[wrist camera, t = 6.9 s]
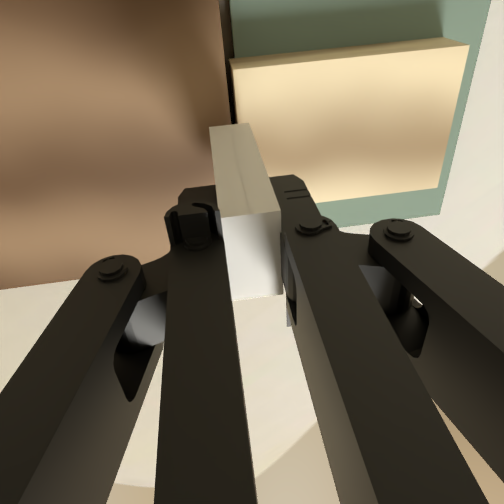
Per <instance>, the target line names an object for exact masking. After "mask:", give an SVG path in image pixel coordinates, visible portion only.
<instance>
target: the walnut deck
mask: <svg viewBox="0 0 504 504" xmlns="http://www.w3.org/2000/svg"><path fill="white" fill-rule="evenodd" d="M223 125H231V117H230V107H229V98H228V88H227V78H226V69H225V59H224V49H223V39H222V30H221V20H220V10H219V1H218V0H0V290H2V289H9V288H17V287H24V286H32V285H39V284H47V283H54V282H62V281H69V280H77V279H80V278H81V277H82V275H83V274H84V273H85V271H86V270H87V269H88V268H89V267H90V266H91V265H92V264H94V263H95V262H97V261H99V260H101V259H103V258H106V257H108V256H112V255H121V254H124V255H131V256H133V257H135V258H137V259H139V261H140V263H141V265H142V264H145V263H148V262H151V261H154V260H156V259H159V258H161V257H162V256H164V255H166V254H167V253H168V252H169V251H170V242H169V238H168V233H167V229H166V225H165V221H164V216H165V214H166V212H167V211H168V210H169V209H170V208H172V207H173V206H175V205H178V196H179V195H180V194H181V193H182V191H183V190H184V189H185V188H192V187H200V186H209V185H215V176H214V167H213V158H212V150H211V141H210V132H209V127H213V126H223Z"/></svg>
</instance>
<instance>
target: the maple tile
mask: <svg viewBox="0 0 504 504" xmlns="http://www.w3.org/2000/svg"><path fill="white" fill-rule="evenodd" d="M469 47H470V45H468V44H465V43H461V42H458V41H455V40H451V39H448V38H445V37H437V38H428V39H418V40H408V41H398V42H389V43H379V44H369V45H359V46H350V47H340V48H330V49H320V50H311V51H301V52H291V53H281V54H272V55H262V56H252V57H242V58H233V59H229V68H230V79H231V89H232V99H233V110H234V120H235V124H241V123H249V124H250V127H251V130H252V132H253V135H254V138H255V141H256V143H257V146H258V149H259V152H260V154H261V157H262V160H263V163H264V165H265V168H266V171H267V174H268V176H269V177H274V176H283V175H291V174H294V175H295V176H297V177H299V178H300V179H302V180H303V181H304V183H305V185H306V187H307V189H308V191H309V192H310V194H311V197H312V198H313V200H314V202H315V203H320V202H328V201H336V200H344V199H352V198H360V197H368V196H376V195H384V194H392V193H400V192H408V191H416V190H424V189H432V188H437V187H438V183H439V178H440V174H441V169H442V165H443V161H444V156H445V152H446V148H447V143H448V139H449V134H450V130H451V126H452V121H453V117H454V113H455V108H456V104H457V99H458V95H459V91H460V86H461V82H462V77H463V73H464V69H465V64H466V60H467V56H468V51H469Z"/></svg>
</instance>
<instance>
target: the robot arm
mask: <svg viewBox="0 0 504 504" xmlns="http://www.w3.org/2000/svg"><path fill="white" fill-rule="evenodd" d="M209 132H210V141H211V150H212V158H213V167H214V176H215V185H209V186H200V187H192V188H185V189H184V190H183V191H182V193H181V194H180V195H179V196H178V205H175V206H173V207H172V208H170V209H169V210H168V211H167V212H166V214H165V216H164V221H165V225H166V229H167V233H168V238H169V242H170V251H169V252H168V253H167V254H166V255H164V256H162V257H161V258H159V259H156V260H154V261H151V262H148V263H145V264H142V265H141V263H140V261H139V259H137V258H135V257H133V256H131V255H124V254H121V255H112V256H108V257H106V258H103V259H101V260H99V261H97V262H95V263H94V264H92V265H91V266H90V267H89V268H88V269H87V270H86V271H85V273H84V274H83V275H82V277H81V278H80V280H79V281H78V283H77V284H76V286H75V287H74V288H73V290H72V291H71V293H70V294H69V296H68V297H67V298H66V300H65V301H64V303H63V304H62V306H61V307H60V308H59V310H58V311H57V313H56V314H55V316H54V317H53V319H52V320H51V321H50V323H49V324H48V326H47V327H46V329H45V330H44V331H43V333H42V334H41V336H40V337H39V339H38V340H37V342H36V343H35V344H34V346H33V347H32V349H31V350H30V352H29V353H28V354H27V356H26V357H25V359H24V360H23V362H22V363H21V364H20V366H19V367H18V369H17V370H16V372H15V373H14V375H13V376H12V377H11V379H10V380H9V382H8V383H7V385H6V386H5V387H4V389H3V390H2V392H1V393H0V504H106V502H107V500H108V497H109V494H110V491H111V488H112V486H113V483H114V481H115V478H116V475H117V472H118V470H119V467H120V464H121V461H122V459H123V456H124V453H125V450H126V448H127V445H128V442H129V440H130V437H131V434H132V431H133V429H134V426H135V423H136V420H137V418H138V415H139V412H140V410H141V407H142V404H143V401H144V399H145V396H146V393H147V390H148V388H149V385H150V382H151V380H152V377H153V374H154V371H155V369H156V366H157V363H158V360H159V358H160V355H161V352H162V350H163V344H164V354H163V369H162V385H161V400H160V416H159V432H158V447H157V463H156V478H155V494H154V495H155V496H154V504H258V501H257V493H256V485H255V477H254V469H253V461H252V453H251V446H250V438H249V430H248V422H247V414H246V406H245V398H244V391H243V383H242V375H241V367H240V359H239V351H238V344H237V336H236V328H235V320H234V312H233V305H232V301H237V300H244V299H251V298H259V297H266V296H273V295H281V294H283V284H284V287H285V291H286V310H287V327H289V326H292V329H293V333H294V337H295V340H296V344H297V347H298V351H299V355H300V358H301V362H302V366H303V369H304V373H305V377H306V380H307V384H308V388H309V391H310V395H311V399H312V402H313V406H314V410H315V413H316V417H317V421H318V424H319V428H320V431H321V435H322V438H323V442H324V446H325V450H326V453H327V457H328V460H329V464H330V468H331V471H332V475H333V478H334V482H335V486H336V490H337V493H338V497H339V501H340V504H489V503H488V501H487V499H486V497H485V496H484V494H483V492H482V490H481V488H480V486H479V485H478V483H477V481H476V479H475V477H474V476H473V474H472V472H471V470H470V468H469V466H468V464H467V463H466V461H465V459H464V457H463V455H462V454H461V452H460V450H459V448H458V446H457V444H456V443H455V441H454V439H453V437H452V435H451V434H450V432H449V430H448V428H447V426H446V424H445V423H444V421H443V419H442V417H441V415H440V414H439V412H438V410H437V408H436V406H435V404H434V402H435V403H436V404H437V405H438V406H439V408H440V409H441V410H442V411H443V412H444V413H445V415H446V416H447V417H448V418H449V419H450V420H451V422H452V423H453V424H454V425H455V426H456V427H457V429H458V430H459V431H460V432H461V433H462V434H463V436H464V437H465V438H466V439H467V440H468V441H469V443H470V444H471V445H472V446H473V447H474V449H475V450H476V451H477V452H478V453H479V454H480V456H481V457H482V458H483V459H484V460H485V461H486V463H487V464H488V465H489V466H490V467H491V468H492V470H493V471H494V472H495V473H496V474H497V475H498V477H499V478H500V479H501V480H502V481H503V483H504V286H503V285H502V284H501V283H499V282H498V281H496V280H495V279H494V278H492V277H491V276H489V275H488V274H487V273H485V272H484V271H483V270H481V269H480V268H478V267H477V266H476V265H474V264H473V263H471V262H470V261H469V260H467V259H466V258H464V257H463V256H462V255H460V254H459V253H458V252H456V251H455V250H453V249H452V248H451V247H449V246H448V245H446V244H445V243H444V242H442V241H441V240H439V239H438V238H437V237H435V236H434V235H433V234H431V233H430V232H428V231H427V230H426V229H424V228H423V227H421V226H420V225H418V224H416V223H414V222H412V221H408V220H404V219H398V218H397V219H396V218H391V219H384V220H380V221H378V222H376V223H374V224H373V225H372V227H371V228H370V234H369V235H365V234H352V233H345V232H341V231H339V229H338V227H337V225H336V224H335V223H334V222H333V221H332V220H331V219H329V218H327V217H325V216H321V214H320V212H319V210H318V208H317V206H316V204H315V202H314V200H313V198H312V197H311V194H310V192H309V191H308V189H307V187H306V185H305V183H304V181H303V180H302V179H300V178H299V177H297V176H295V175H294V174H291V175H283V176H274V177H269V176H268V174H267V171H266V168H265V165H264V163H263V160H262V157H261V154H260V152H259V149H258V146H257V143H256V141H255V138H254V135H253V132H252V130H251V127H250V124H249V123H241V124H232V125H223V126H213V127H209ZM414 296H415V297H416V298H417V299H418V300H419V301H420V302H421V303H422V304H423V305H421V304H420V303H418V302H417V301H416V300H415V299H414ZM431 398H432V399H433V400H434V402H433V401H432V399H431Z"/></svg>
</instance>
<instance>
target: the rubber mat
mask: <svg viewBox="0 0 504 504" xmlns="http://www.w3.org/2000/svg"><path fill="white" fill-rule="evenodd" d="M490 3H491V0H229V7H230V18H231V29H232V40H233V51H234V58H242V57H252V56H262V55H272V54H281V53H291V52H301V51H311V50H320V49H330V48H340V47H350V46H359V45H369V44H379V43H389V42H398V41H408V40H418V39H428V38H437V37H445V38H448V39H451V40H455V41H458V42H461V43H465V44H468V45H470V47H469V51H468V56H467V60H466V64H465V69H464V73H463V77H462V82H461V86H460V91H459V95H458V99H457V104H456V108H455V113H454V117H453V121H452V126H451V130H450V134H449V139H448V143H447V148H446V152H445V156H444V161H443V165H442V169H441V174H440V178H439V183H438V187H437V188H432V189H424V190H416V191H408V192H400V193H392V194H384V195H376V196H368V197H360V198H352V199H344V200H336V201H328V202H320V203H315V204H316V206H317V208H318V210H319V212H320V214H321V216H325V217H327V218H329V219H331V220H332V221H333V222H334V223H335V224H336V225H337V227H338V228H340V227H348V226H356V225H363V224H371V223H376V222H378V221H380V220H384V219H391V218H396V219H397V218H398V219H409V218H417V217H424V216H432V215H439V214H440V210H441V206H442V202H443V198H444V194H445V190H446V185H447V181H448V177H449V173H450V169H451V165H452V161H453V156H454V152H455V148H456V144H457V140H458V136H459V132H460V127H461V123H462V119H463V115H464V111H465V107H466V103H467V98H468V94H469V90H470V86H471V82H472V78H473V74H474V69H475V65H476V61H477V57H478V53H479V49H480V45H481V40H482V36H483V32H484V28H485V24H486V20H487V16H488V11H489V7H490Z"/></svg>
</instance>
